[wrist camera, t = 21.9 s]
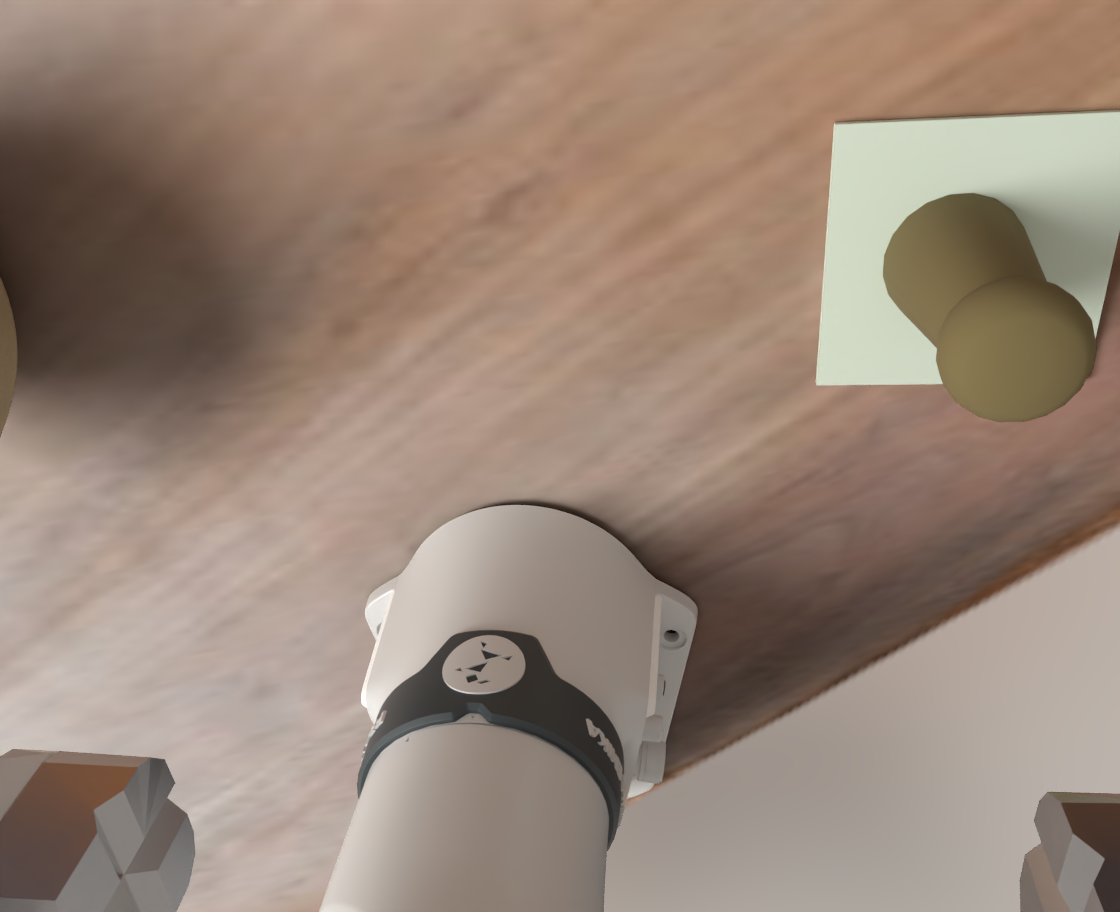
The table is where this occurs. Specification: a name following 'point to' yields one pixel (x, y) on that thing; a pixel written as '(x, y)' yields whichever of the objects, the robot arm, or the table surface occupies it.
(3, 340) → the cream bowl
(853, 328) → the mat
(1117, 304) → the table surface
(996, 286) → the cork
